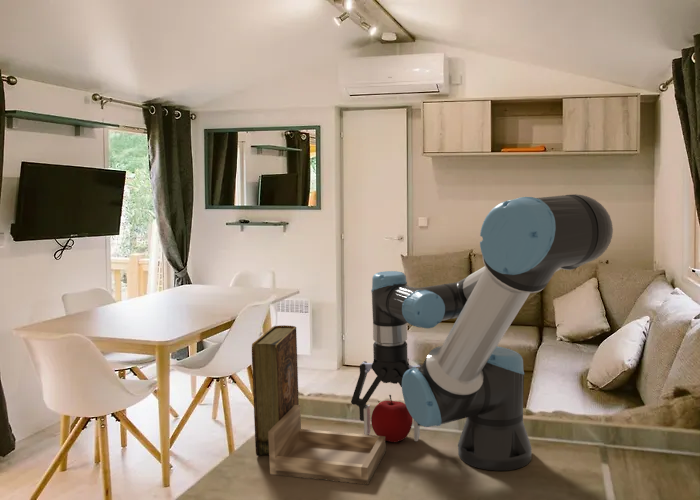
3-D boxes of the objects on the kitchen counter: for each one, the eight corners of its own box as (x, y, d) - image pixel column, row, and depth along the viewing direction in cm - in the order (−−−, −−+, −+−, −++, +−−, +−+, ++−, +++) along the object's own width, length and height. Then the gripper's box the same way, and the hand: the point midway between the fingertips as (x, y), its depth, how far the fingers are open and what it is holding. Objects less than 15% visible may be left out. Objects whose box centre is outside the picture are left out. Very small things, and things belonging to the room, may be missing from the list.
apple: (366, 444, 155) (365, 400, 153) (378, 428, 163) (377, 387, 162) (406, 449, 151) (405, 404, 150) (417, 433, 160) (416, 391, 158)
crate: (385, 451, 150) (384, 411, 149) (367, 484, 136) (366, 440, 134) (296, 443, 156) (295, 404, 155) (270, 474, 141) (268, 431, 140)
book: (278, 428, 165) (274, 325, 161) (301, 429, 164) (297, 325, 160) (255, 458, 149) (251, 344, 145) (280, 459, 148) (276, 345, 144)
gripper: (445, 339, 154) (445, 434, 158) (344, 334, 161) (347, 425, 164) (439, 348, 147) (440, 447, 150) (335, 343, 154) (337, 438, 157)
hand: (392, 436), depth 157 cm, fingers open, 11 cm apart
